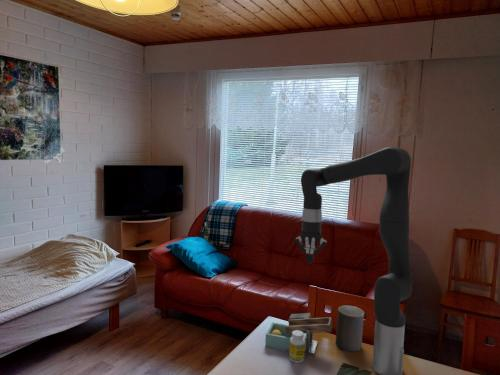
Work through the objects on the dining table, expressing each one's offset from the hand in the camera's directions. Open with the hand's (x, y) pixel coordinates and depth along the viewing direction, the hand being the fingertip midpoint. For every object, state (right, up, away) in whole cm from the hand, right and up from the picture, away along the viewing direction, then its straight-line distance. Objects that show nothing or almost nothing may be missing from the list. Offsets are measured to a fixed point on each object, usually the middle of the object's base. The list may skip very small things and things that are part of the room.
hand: (309, 262), depth 146 cm
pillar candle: (+14, -31, -6) cm, 34 cm away
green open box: (-12, -29, -6) cm, 32 cm away
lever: (-1, -22, -6) cm, 23 cm away
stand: (-2, -30, -9) cm, 32 cm away
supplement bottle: (-7, -31, -16) cm, 36 cm away
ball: (-14, -27, -6) cm, 31 cm away
